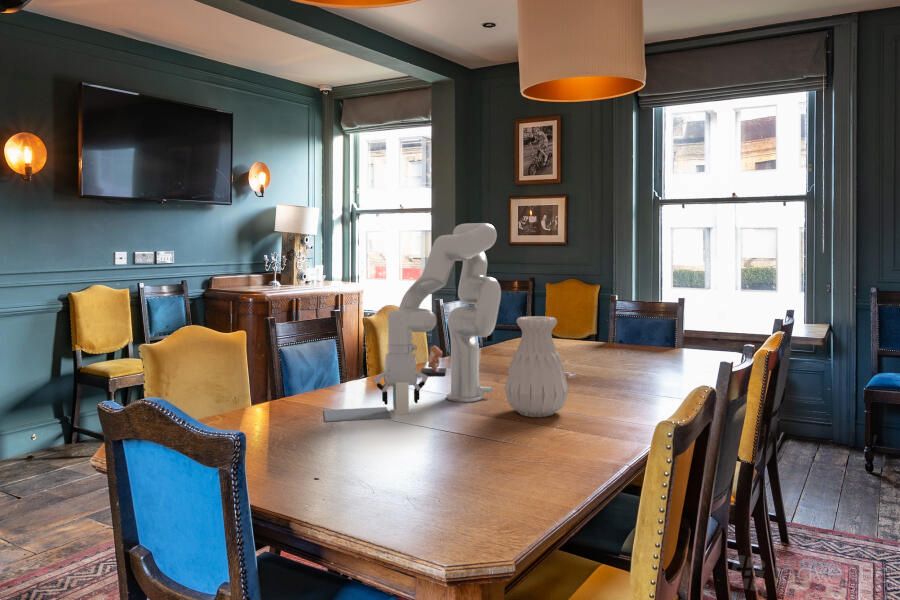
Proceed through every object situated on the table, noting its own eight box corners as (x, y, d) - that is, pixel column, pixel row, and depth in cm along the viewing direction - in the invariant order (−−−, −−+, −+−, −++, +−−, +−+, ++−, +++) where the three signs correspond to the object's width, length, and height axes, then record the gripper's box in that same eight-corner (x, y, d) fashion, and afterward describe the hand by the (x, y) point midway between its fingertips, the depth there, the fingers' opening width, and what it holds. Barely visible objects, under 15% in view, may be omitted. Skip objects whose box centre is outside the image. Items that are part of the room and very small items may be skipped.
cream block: (405, 408, 224) (405, 378, 223) (408, 414, 217) (408, 382, 216) (392, 409, 223) (392, 378, 222) (395, 414, 216) (395, 383, 215)
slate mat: (386, 407, 225) (386, 406, 225) (391, 418, 212) (391, 417, 211) (323, 411, 221) (323, 410, 221) (325, 422, 208) (325, 421, 207)
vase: (527, 424, 204) (528, 323, 202) (492, 410, 222) (492, 316, 219) (581, 416, 213) (582, 319, 211) (544, 403, 231) (544, 313, 229)
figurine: (445, 376, 279) (445, 346, 278) (420, 376, 280) (420, 346, 279) (446, 371, 289) (446, 343, 288) (422, 371, 290) (422, 343, 289)
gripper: (425, 346, 224) (425, 399, 225) (371, 348, 220) (372, 401, 222) (429, 350, 217) (429, 404, 218) (374, 352, 213) (374, 407, 214)
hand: (400, 402), depth 220 cm, fingers open, 9 cm apart
